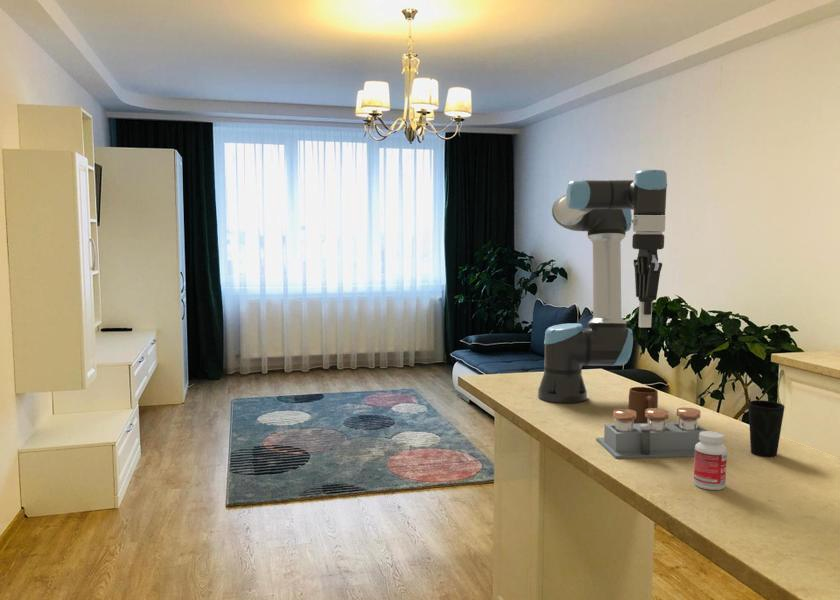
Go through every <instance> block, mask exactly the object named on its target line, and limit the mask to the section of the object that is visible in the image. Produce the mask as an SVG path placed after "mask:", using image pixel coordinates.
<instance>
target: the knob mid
mask: <svg viewBox="0 0 840 600" xmlns="http://www.w3.org/2000/svg"><path fill="white" fill-rule="evenodd" d="M669 413H670V412H669V411H668V410H667V409H663V408H648V409H646V410H645V417H647V424H649V425H652V430H650V431H665V425H666V423H667V420H668V419H669Z"/></svg>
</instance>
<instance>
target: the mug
mask: <svg viewBox="0 0 840 600" xmlns="http://www.w3.org/2000/svg"><path fill="white" fill-rule="evenodd" d="M658 393H659V391H658V390H657V389H656V388H653V387H648V386H647V387H645V386H635V387H634V386H633V387H630V388H629V393H628V408H627V409H630V410H634V411H636V419H635V420H634V422H633V424H638V423H647V417H645V410H646V409H648V408H658V406H659V404H658V403H659V396H658V395H659V394H658Z"/></svg>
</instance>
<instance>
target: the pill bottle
mask: <svg viewBox="0 0 840 600" xmlns="http://www.w3.org/2000/svg"><path fill="white" fill-rule="evenodd" d="M724 437H725V436H724V434H722V433H720V432H717V431H710V430H708V431H702V432H700V433H699V440H700V442H698V443H697V444H696V445H695V457H694V460H693V461H694V463H693V484H694V485H695V486H696V487H698V488H700V489H704V490H709V491H720V490H723V489H724V488H725V486H726V479H727V474H726V473H727V457H728V456H727V454H728V452H727V447H726V446H725V445H724V444H723V443H724Z"/></svg>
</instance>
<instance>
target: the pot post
mask: <svg viewBox="0 0 840 600" xmlns="http://www.w3.org/2000/svg"><path fill="white" fill-rule="evenodd" d="M640 429H641V454H643V455H649V454H650V430H652V425H649V424H641V425H640Z"/></svg>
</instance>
